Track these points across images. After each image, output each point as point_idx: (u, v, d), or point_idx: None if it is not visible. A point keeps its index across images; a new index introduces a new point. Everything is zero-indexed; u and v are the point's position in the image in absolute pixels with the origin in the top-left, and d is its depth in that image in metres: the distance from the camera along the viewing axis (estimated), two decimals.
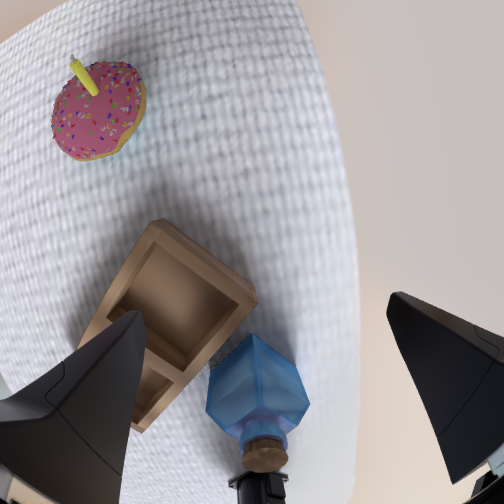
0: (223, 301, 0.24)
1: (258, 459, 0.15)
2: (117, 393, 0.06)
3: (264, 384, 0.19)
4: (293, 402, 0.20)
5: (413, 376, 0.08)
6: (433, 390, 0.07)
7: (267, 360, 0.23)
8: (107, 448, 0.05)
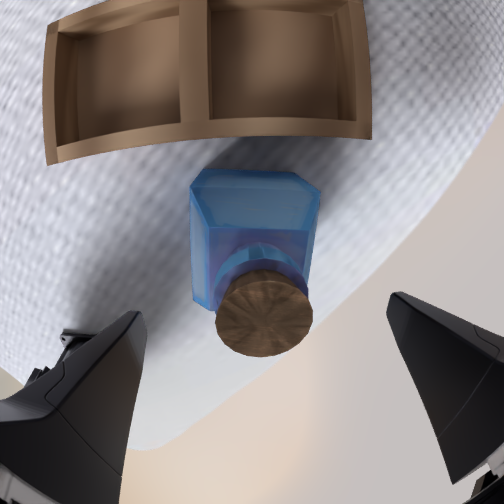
0: (316, 112, 0.16)
1: (261, 310, 0.09)
2: (117, 393, 0.06)
3: (315, 217, 0.13)
4: (306, 277, 0.14)
5: (413, 376, 0.08)
6: (433, 390, 0.07)
7: None
8: (107, 448, 0.05)
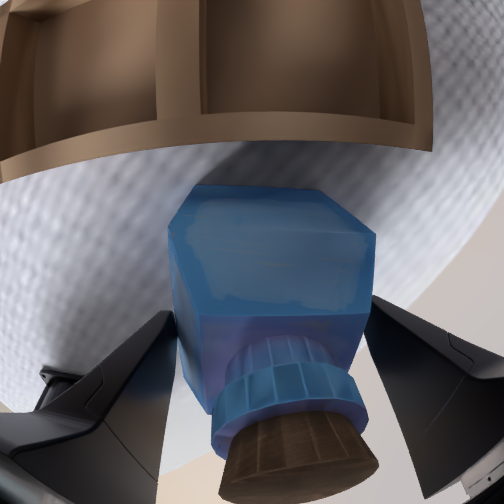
0: (352, 108, 0.11)
1: (298, 483, 0.04)
2: (155, 396, 0.06)
3: None
4: None
5: (385, 384, 0.08)
6: (404, 400, 0.06)
7: None
8: (144, 454, 0.06)
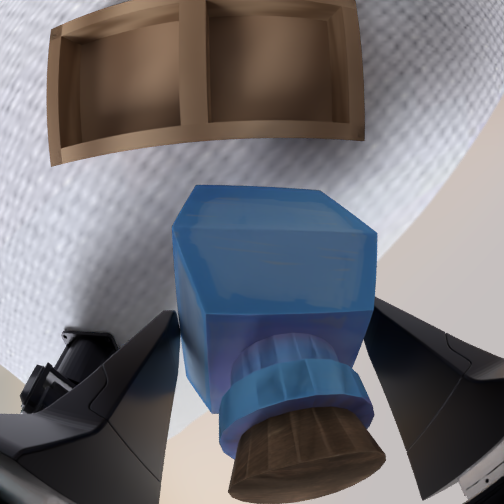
0: (311, 114, 0.17)
1: (308, 478, 0.04)
2: (158, 396, 0.06)
3: None
4: None
5: (382, 385, 0.08)
6: (401, 401, 0.06)
7: None
8: (147, 454, 0.06)
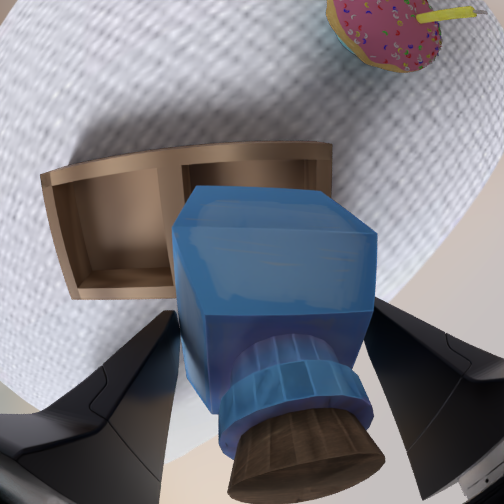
0: None
1: (307, 479, 0.04)
2: (158, 396, 0.06)
3: None
4: None
5: (382, 385, 0.08)
6: (401, 401, 0.06)
7: None
8: (148, 454, 0.06)
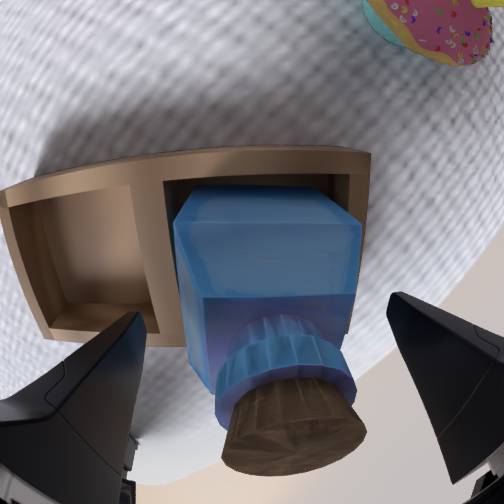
0: None
1: (293, 445, 0.05)
2: (117, 393, 0.06)
3: None
4: None
5: (413, 376, 0.08)
6: (433, 390, 0.07)
7: None
8: (107, 448, 0.05)
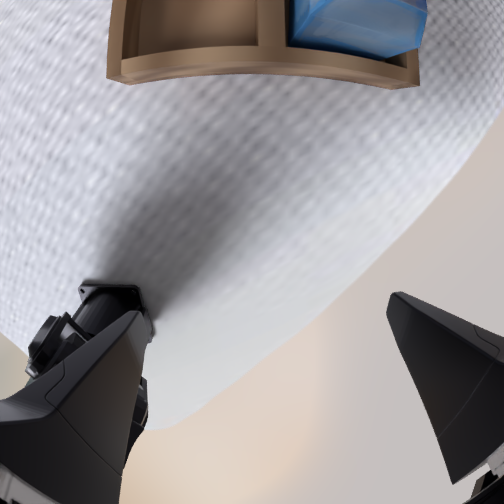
0: None
1: None
2: (117, 393, 0.06)
3: None
4: None
5: (413, 376, 0.08)
6: (433, 390, 0.07)
7: None
8: (107, 448, 0.05)
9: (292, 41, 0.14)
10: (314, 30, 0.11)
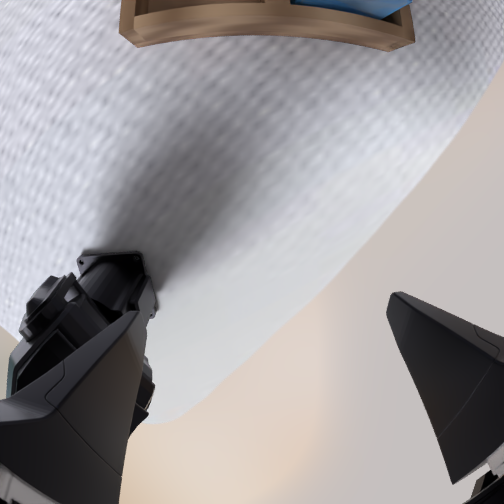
0: None
1: None
2: (117, 393, 0.06)
3: None
4: None
5: (413, 376, 0.08)
6: (433, 390, 0.07)
7: None
8: (107, 448, 0.05)
9: (295, 3, 0.13)
10: None
